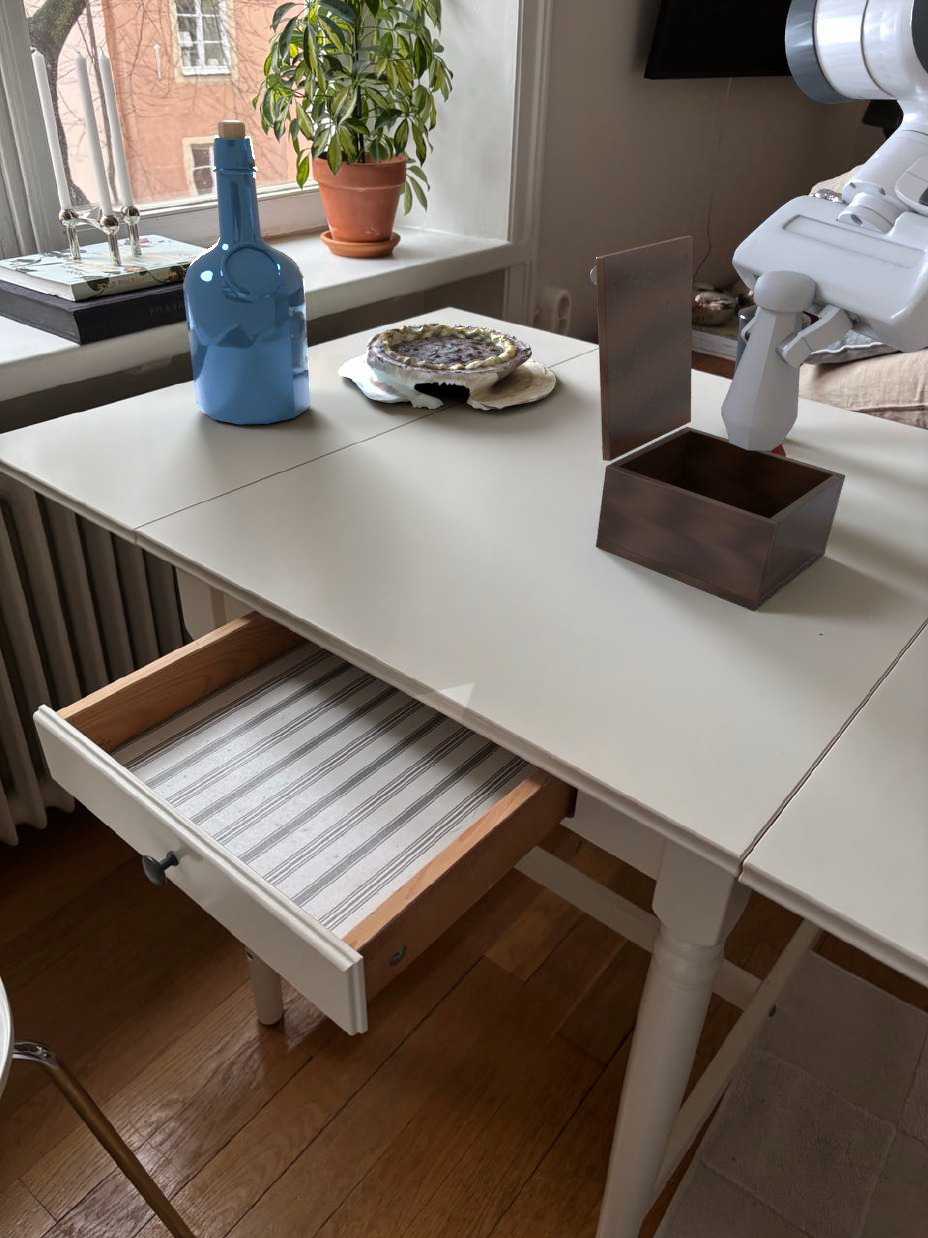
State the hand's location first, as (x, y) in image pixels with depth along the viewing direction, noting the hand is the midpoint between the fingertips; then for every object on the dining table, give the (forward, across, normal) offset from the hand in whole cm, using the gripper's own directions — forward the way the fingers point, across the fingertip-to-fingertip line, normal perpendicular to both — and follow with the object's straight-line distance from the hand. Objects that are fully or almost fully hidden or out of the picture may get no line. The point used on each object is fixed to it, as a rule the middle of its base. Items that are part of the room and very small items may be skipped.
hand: (766, 351), depth 73 cm
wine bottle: (+36, -50, -8) cm, 62 cm away
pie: (+17, -54, +10) cm, 58 cm away
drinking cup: (-2, -27, +29) cm, 40 cm away
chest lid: (+4, -11, 0) cm, 12 cm away
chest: (+13, -4, +14) cm, 20 cm away
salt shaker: (+5, 0, +6) cm, 8 cm away
